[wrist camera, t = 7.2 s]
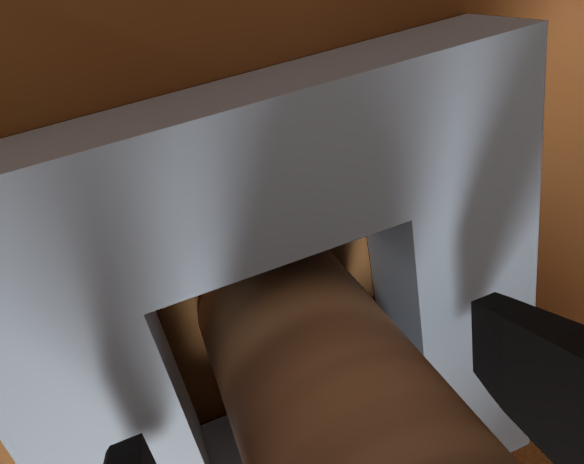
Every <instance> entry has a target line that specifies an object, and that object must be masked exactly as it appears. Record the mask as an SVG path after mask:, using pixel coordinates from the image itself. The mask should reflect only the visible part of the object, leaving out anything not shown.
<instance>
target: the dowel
mask: <svg viewBox="0 0 584 464" xmlns="http://www.w3.org/2000/svg"><path fill="white" fill-rule="evenodd" d="M198 322H199V327H200V331H201V334H202V337H203V340H204V343H205V347H206V350H207V353H208V356H209V359H210V362H211V365H212V369H213V372H214V375H215V378H216V381H217V384H218V387H219V391H220V394H221V397H222V400H223V403H224V406H225V409H226V412H227V416H228V419H229V422H230V425H231V428H232V431H233V434H234V438H235V441H236V444H237V447H238V450H239V453H240V456H241V459H242V463H243V464H520V463H519V462H518V461H517V460H516V458H515V457H514V456H513V455H512V454H511V453H510V452H509V451H508V449H507V448H506V447H505V446H504V445H503V444H502V443H501V442H500V441H499V439H498V438H497V437H496V436H495V435H494V434H493V433H492V432H491V430H490V429H489V428H488V427H487V426H486V425H485V424H484V423H483V422H482V420H481V419H480V418H479V417H478V416H477V415H476V414H475V413H474V411H473V410H472V409H471V408H470V407H469V406H468V405H467V404H466V403H465V401H464V400H463V399H462V398H461V397H460V396H459V395H458V394H457V392H456V391H455V390H454V389H453V388H452V387H451V386H450V385H449V383H448V382H447V381H446V380H445V379H444V378H443V377H442V376H441V375H440V373H439V372H438V371H437V370H436V369H435V368H434V367H433V366H432V364H431V363H430V362H429V361H428V360H427V359H426V358H425V357H424V356H423V354H422V353H421V352H420V351H419V350H418V349H417V348H416V347H415V345H414V344H413V343H412V342H411V341H410V340H409V339H408V338H407V337H406V335H405V334H404V333H403V332H402V331H401V330H400V329H399V328H398V326H397V325H396V324H395V323H394V322H393V321H392V320H391V319H390V318H389V316H388V315H387V314H386V313H385V312H384V311H383V310H382V309H381V307H380V306H379V305H378V304H377V303H376V302H375V301H374V300H373V298H372V297H371V296H370V295H369V294H368V293H367V292H366V291H365V290H364V288H363V287H362V286H361V285H360V284H359V283H358V282H357V281H356V279H355V278H354V277H353V276H352V275H351V274H350V273H349V272H348V271H347V269H346V268H345V267H344V266H343V265H342V264H341V263H340V262H339V260H338V259H337V258H336V257H335V256H334V255H333V254H332V253H331V252H330V251H329V250H326V251H323V252H320V253H317V254H315V255H312V256H309V257H306V258H303V259H300V260H298V261H295V262H292V263H289V264H286V265H283V266H281V267H278V268H275V269H272V270H269V271H266V272H264V273H261V274H258V275H255V276H252V277H249V278H247V279H244V280H241V281H238V282H235V283H232V284H230V285H227V286H224V287H221V288H218V289H215V290H213V291H210V292H207V293H204V294H201V297H200V301H199V306H198Z"/></svg>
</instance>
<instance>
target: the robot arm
mask: <svg viewBox="0 0 584 464" xmlns="http://www.w3.org/2000/svg"><path fill="white" fill-rule="evenodd" d="M471 322H472V355H473V372H474V373H475V375H476V376H477V378H478V379H479V380H480V382H481V383H482V384H483V386H484V387H485V388H486V390H487V391H488V393H489V394H490V395H491V396H492V398H493V399H494V400H495V402H496V403H497V404H498V405H499V407H500V408H501V409H502V410H503V412H504V413H505V414H506V415H507V416H508V417H509V418H510V419H511V420H512V421H513V422H514V423H515V424H516V425H517V426H518V427H519V428H520V429H521V430H522V432H523V433H524V434H525V435H526V436H527V437H528V438H529V439H530V440H531V441H532V442H533V443H534V444H535V445H536V446H537V447H538V448H539V449H540V450H541V451H542V452H543V453H544V454H545V455H546V456H547V457H548V458H549V459H550V460H551V461H552V462H553V463H554V464H584V325H583V324H580V323H577V322H575V321H572V320H569V319H567V318H564V317H561V316H559V315H556V314H553V313H551V312H548V311H546V310H543V309H540V308H538V307H535V306H533V305H530V304H527V303H525V302H522V301H519V300H517V299H514V298H511V297H508V296H506V295H503V294H500V293H497V292H494V293H491V294H489V295H486V296H483V297H481V298H478V299H476V300H473V301H471ZM103 464H156V462H155V459H154V457H153V455H152V453H151V451H150V449H149V447H148V445H147V443H146V440H145V438H144V436H143V434H142V433H140V434H138V435H135V436H133V437H130V438H128V439H125V440H123V441H120V442H118V443H115V444H113V445H110V446H109V448H108V449H107V451H106V453H105V458H104V462H103Z"/></svg>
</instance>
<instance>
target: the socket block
mask: <svg viewBox="0 0 584 464" xmlns="http://www.w3.org/2000/svg"><path fill="white" fill-rule="evenodd" d="M547 28H548V20H537V19H525V18H514V17H502V16H491V15H479V14H463V15H460V16H456V17H452V18H448V19H445V20H441V21H437V22H433V23H430V24H426V25H422V26H419V27H415V28H411V29H407V30H404V31H400V32H396V33H392V34H389V35H385V36H381V37H378V38H374V39H370V40H366V41H363V42H359V43H355V44H351V45H348V46H344V47H340V48H337V49H333V50H329V51H325V52H322V53H318V54H314V55H310V56H307V57H303V58H299V59H296V60H292V61H288V62H284V63H281V64H277V65H273V66H269V67H266V68H262V69H258V70H254V71H251V72H247V73H243V74H240V75H236V76H232V77H228V78H225V79H221V80H217V81H213V82H210V83H206V84H202V85H199V86H195V87H191V88H187V89H184V90H180V91H176V92H172V93H169V94H165V95H161V96H158V97H154V98H150V99H146V100H143V101H139V102H135V103H131V104H128V105H124V106H120V107H116V108H113V109H109V110H105V111H102V112H98V113H94V114H90V115H87V116H83V117H79V118H75V119H72V120H68V121H64V122H61V123H57V124H53V125H49V126H46V127H42V128H38V129H34V130H31V131H27V132H23V133H20V134H16V135H12V136H8V137H5V138H1V139H0V440H1V442H2V443H3V445H4V446H5V448H6V449H7V451H8V452H9V454H10V455H11V457H12V458H13V460H14V461H15V463H16V464H103V462H104V458H105V453H106V451H107V449H108V448H109V446H110V445H113V444H115V443H118V442H120V441H123V440H125V439H128V438H130V437H133V436H135V435H138V434H140V433H142V434H143V436H144V438H145V440H146V443H147V445H148V447H149V449H150V451H151V453H152V455H153V457H154V459H155V462H156V464H243V463H242V459H241V456H240V453H239V450H238V447H237V444H236V441H235V438H234V434H233V431H232V428H231V425H230V422H229V419H228V416H227V415H225V416H223V417H220V418H218V419H215V420H213V421H210V422H208V423H206V424H203V425H201V424H200V422H199V419H198V417H197V414H196V412H195V409H194V407H193V404H192V402H191V399H190V396H189V394H188V391H187V389H186V386H185V384H184V381H183V379H182V376H181V374H180V371H179V368H178V366H177V363H176V361H175V358H174V356H173V353H172V351H171V348H170V345H169V343H168V340H167V338H166V335H165V333H164V330H163V328H162V325H161V323H160V320H159V317H158V315H157V312H156V310H159V309H162V308H164V307H167V306H170V305H173V304H176V303H179V302H181V301H184V300H187V299H190V298H193V297H196V296H198V295H201V294H204V293H207V292H210V291H213V290H215V289H218V288H221V287H224V286H227V285H230V284H232V283H235V282H238V281H241V280H244V279H247V278H249V277H252V276H255V275H258V274H261V273H264V272H266V271H269V270H272V269H275V268H278V267H281V266H283V265H286V264H289V263H292V262H295V261H298V260H300V259H303V258H306V257H309V256H312V255H315V254H317V253H320V252H323V251H326V250H329V249H332V248H334V247H337V246H340V245H343V244H346V243H349V242H351V241H354V240H357V239H360V238H363V237H366V236H367V243H368V250H369V257H370V265H371V272H372V279H373V286H374V294H375V301H376V303H377V304H378V305H379V306H380V307H381V309H382V310H383V311H384V312H385V313H386V314H387V315H388V316H389V318H390V319H391V320H392V321H393V322H394V323H395V324H396V325H397V326H398V328H399V329H400V330H401V331H402V332H403V333H404V334H405V335H406V337H407V338H408V339H409V340H410V341H411V342H412V343H413V344H414V345H415V347H416V348H417V349H418V350H419V351H420V352H421V353H422V354H423V356H424V357H425V358H426V359H427V360H428V361H429V362H430V363H431V364H432V366H433V367H434V368H435V369H436V370H437V371H438V372H439V373H440V375H441V376H442V377H443V378H444V379H445V380H446V381H447V382H448V383H449V385H450V386H451V387H452V388H453V389H454V390H455V391H456V392H457V394H458V395H459V396H460V397H461V398H462V399H463V400H464V401H465V403H466V404H467V405H468V406H469V407H470V408H471V409H472V410H473V411H474V413H475V414H476V415H477V416H478V417H479V418H480V419H481V420H482V422H483V423H484V424H485V425H486V426H487V427H488V428H489V429H490V430H491V432H492V433H493V434H494V435H495V436H496V437H497V438H498V439H499V441H500V442H501V443H502V444H503V445H504V446H505V447H506V448H507V449H508V451H509V452H510V453H511V452H513V451H515V450H517V449H519V448H521V447H523V446H526V445H528V444H529V438H528V437H527V436H526V435H525V434H524V433H523V432H522V430H521V429H520V428H519V427H518V426H517V425H516V424H515V423H514V422H513V421H512V420H511V419H510V418H509V417H508V416H507V415H506V414H505V413H504V412H503V410H502V409H501V408H500V407H499V405H498V404H497V403H496V402H495V400H494V399H493V398H492V396H491V395H490V394H489V393H488V391H487V390H486V388H485V387H484V386H483V384H482V383H481V382H480V380H479V379H478V378H477V376H476V375H475V373H474V372H473V355H472V322H471V301H473V300H476V299H478V298H481V297H483V296H486V295H489V294H491V293H494V292H497V293H500V294H503V295H506V296H508V297H511V298H514V299H517V300H519V301H522V302H525V303H527V304H530V305H533V306H535V302H536V279H537V257H538V234H539V211H540V188H541V165H542V142H543V120H544V97H545V74H546V51H547Z"/></svg>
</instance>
